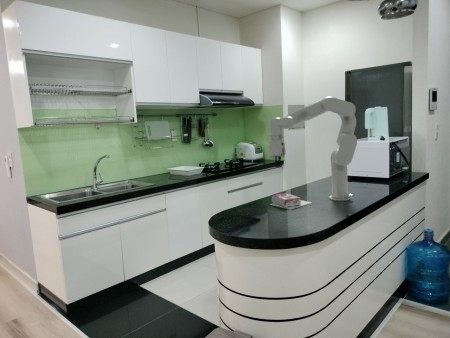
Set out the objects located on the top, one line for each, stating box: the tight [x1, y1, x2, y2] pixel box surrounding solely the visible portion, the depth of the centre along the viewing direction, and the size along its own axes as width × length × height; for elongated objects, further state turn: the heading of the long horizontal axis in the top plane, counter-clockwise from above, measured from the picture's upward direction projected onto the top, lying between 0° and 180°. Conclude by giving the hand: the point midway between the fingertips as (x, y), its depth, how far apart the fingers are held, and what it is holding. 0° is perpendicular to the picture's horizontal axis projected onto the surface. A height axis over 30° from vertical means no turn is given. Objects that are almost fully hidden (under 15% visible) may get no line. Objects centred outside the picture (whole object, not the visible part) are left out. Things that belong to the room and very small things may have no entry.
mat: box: [269, 200, 313, 210], centre depth 209 cm, size 17×20×1 cm
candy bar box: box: [271, 192, 302, 207], centre depth 208 cm, size 11×5×16 cm
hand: (277, 166), depth 215 cm, fingers closed
